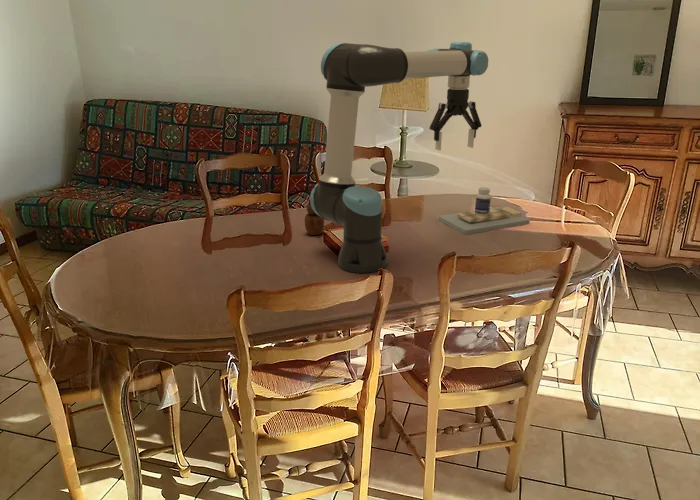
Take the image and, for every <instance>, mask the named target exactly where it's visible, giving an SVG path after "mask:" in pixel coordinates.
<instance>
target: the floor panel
mask: <svg viewBox="0 0 700 500" xmlns="http://www.w3.org/2000/svg"><path fill="white" fill-rule="evenodd" d="M490 209H499V210H501V211H504V212H506V213H508V214H510V218H503V219H495V220H487V221H479V222H471V223H469V222H467V221H465V220H463V219H461V218H459V217H457V214H458V213H459V212H457V213H456V212H455V213H449V214H442V215H438V216H437V218H438V221H440V222H442V223H443V224H445V225H447V226H449V227H450V228H453V230H454V229H455V230H456V231H458V232H460V233H461V234H462V235H463V234H464V235H471V234H478V233H483V232H489V231H494V230H500V229H506V228H512V227H518V226H522V225H523V226H525V225H529V224H530V219H528V218H526V217H523V216H522V212H520V211H518V210H516V209H513V208H512V207H509V206H505V207H501V206H496V207H490ZM473 211H474V210H469V211H467V212H473ZM464 212H465V211H464ZM464 212H463V211H462V212H461V213H464Z"/></svg>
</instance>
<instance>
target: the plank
mask: <svg viewBox="0 0 700 500" xmlns="http://www.w3.org/2000/svg"><path fill="white" fill-rule="evenodd" d="M472 211H473V212H468V211H464V213H462V212H457V213H458V214H457V217H459V218H461V219H463V220H465V221H467V222H469V223H471V222H479V221H487V220H495V219H503V218H510V214H508V213H506V212H504V211H501V210H499V209H490V211H489V215H487V216H479V215H476V214H475V213H474V212H475V210H472Z"/></svg>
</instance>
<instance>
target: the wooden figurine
mask: <svg viewBox="0 0 700 500" xmlns="http://www.w3.org/2000/svg"><path fill="white" fill-rule="evenodd" d="M306 211H307V214H305V216H304V227H305V231H306V232H307V234H308V235H311V236H319V235H320V234H322V233H323V231H324V226H325V219H323V218H321V217H320V216H318V215H317V214H316V213H315V212H314V211H313V209H312V207H311V203H310V199H309V200H308V204H307V206H306Z"/></svg>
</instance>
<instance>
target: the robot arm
mask: <svg viewBox="0 0 700 500" xmlns="http://www.w3.org/2000/svg"><path fill="white" fill-rule="evenodd" d="M320 61H321V62H320V72H321V75H322V76H323V78H324V80H326V87H325V88H326V90H327V92H328V93H329V95H330V101H329V102H330V103H329V112H328V122H327V123H328V124H327V134H326V135H327V136H326V147H325V148H326V149H325V156H324V157H325V159H324V169H323V174H321V176H319V177H318V182H317V183H316V184H315V186H314V188H312V189H311V192H310V195H309V196H310V198H309V200H310V203H311V207H312V209H313V211H314V212H315V213H316V214H317V215H318V216H320V217H321V218H323V219H324V221H328V222H332V223H333V224H336V225H339V226H342V227H343V241H342V244H341V247H340V250H339V253H338V258H337V259H338V260H337V262H338V263H337V264H338V266H339V268H341V269H342V270H344V271H347V272H350V273H357V274H358V273H359V274H364V273H365V274H367V273H368V274H369V273H374V272H378V269H379V268H383V269H384V268H385V267H387V264H388V256H387V252H386V251H385V247H384V244H383V241H382V225H383V202H382V201H383V200H382V195H381V193H380V192H378V191H377V190H376V189H373V187H372V188H371V187H368V186H365V187H364V186H360V185H356V180H355V178H353V176H352V173H353V171H352V169H353V162H354V160H353V159H354V153H355V151H354V150H355V140H356V131H357V130H356V129H357V119H358V112H359V103H360V102H359V100H360V97H362V95H364V94H365V92H366V91H365V89H366V87H377V86H382V85H390V84H391V85H392V84H399V83H401V82H403V81H404V80H406V79H407V80H408V79H419V78H435V77H436V78H437V77H447V76H448V77H447V78H448V79H447V88H448V89H447V92H446V93H447V95H446V99H447V100H446V103H445V102H443V103H442V102H439V103H438V108H437V110H436V113H435V114H434V116H433V120H432V121H431V123H430V125H429V130H431V131H434V133H433V140H434V141H435V145H434V146H435V150H437V151H441V150H442V135H443V132H442V131H441V130H442V129H443V128H444V127H445V125H446V124H447V122H448V121H449V119H451V118H452V116H454V117H456V116H462V117H463V118H464V120H465V121H466V123H467V124H468V125H469V128H468V134H467V136H468V137H467V147H468V148H470V149H471V148H472V149H473V148H474V141H475V139H476V136H477V130H479V128H481V127H482V123H481V120H480V117H479V114H478V111H477V108H476V105H477V104H476V101H473V100H472V101H471V100H470V101H469V96H470V89H469V88H470V81H471V80H470V79H471V76H475V77H476V76H481V75H483V74H485V73H486V71H487V70H488V67H489V57H488V54H487V53H486V52H485V51H483V50H478V49H474V50H473V44H472V43H471V42H468V41H452V42H450V44H449V48H433V49H428V50H426V51H422V50H421V51H404V50H403V49H402V48H393V47H385V46H380V45H379V46H378V45H372V44H365V43H364V44H363V43H362V44H361V43H348V42H342V43H336V44H333V45H331V46H329V48H328V49H326V50H325V52H324V54H323V55H322V57H321V60H320ZM468 101H469V102H468ZM467 109H468V110H469V112H470V113H469V112H468V110H467ZM445 110H446V111H445ZM470 114H471V116H470Z"/></svg>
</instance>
